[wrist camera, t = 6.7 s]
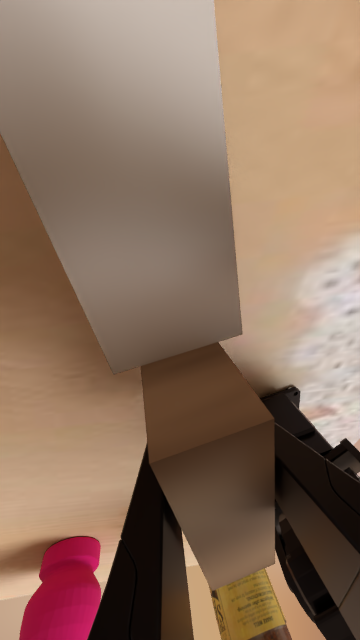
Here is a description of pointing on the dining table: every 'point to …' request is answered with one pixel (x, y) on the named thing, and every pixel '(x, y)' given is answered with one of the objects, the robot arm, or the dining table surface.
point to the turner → (149, 240)
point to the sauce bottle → (249, 610)
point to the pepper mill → (65, 593)
